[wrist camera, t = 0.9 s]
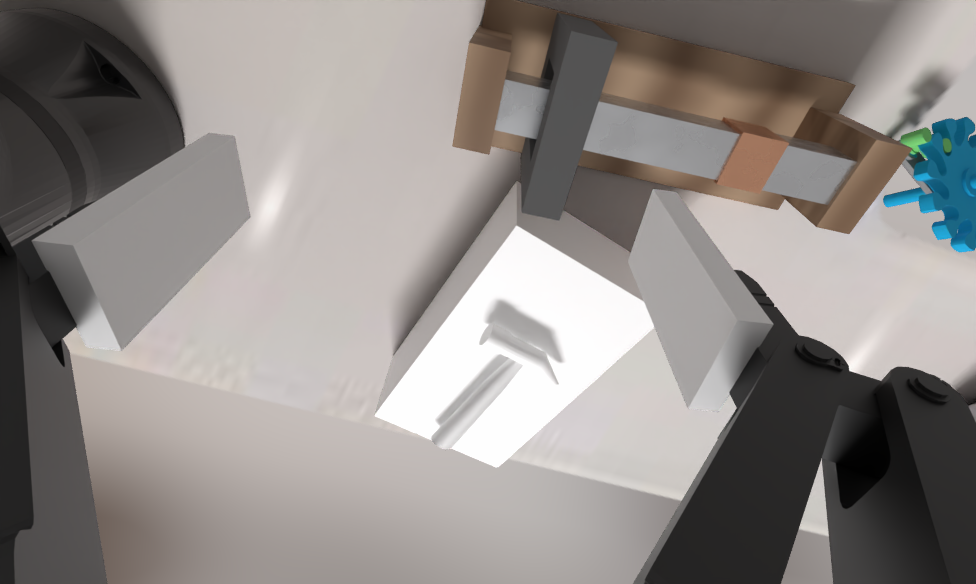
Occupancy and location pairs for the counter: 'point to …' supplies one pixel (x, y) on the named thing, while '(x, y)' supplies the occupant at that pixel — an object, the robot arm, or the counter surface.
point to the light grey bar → (688, 143)
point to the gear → (944, 179)
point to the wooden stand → (681, 105)
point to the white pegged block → (514, 334)
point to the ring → (564, 113)
